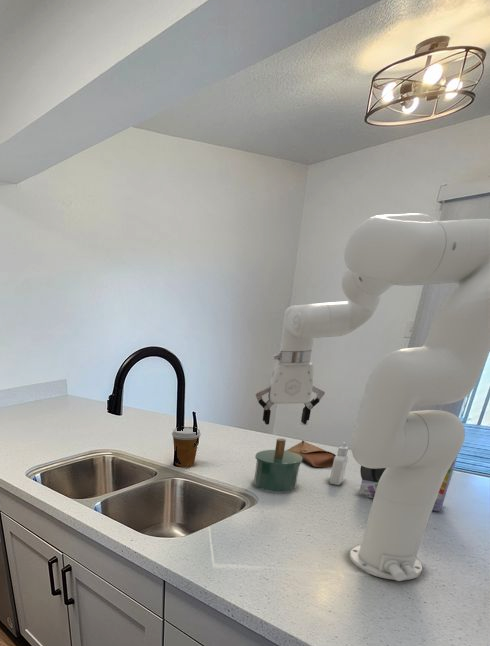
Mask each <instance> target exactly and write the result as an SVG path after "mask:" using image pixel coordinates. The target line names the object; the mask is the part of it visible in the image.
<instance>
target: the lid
mask: <svg viewBox="0 0 490 646" xmlns="http://www.w3.org/2000/svg"><path fill="white" fill-rule="evenodd" d="M286 443H287V440H286V439H285V438H277V439H276V443H275V449H267V450H266V449H265V450H261V451H258V452H256V453H255V455H254V459H256V461H257V460H258V461H260V462H262V463H266V464H270V465H278V466H290V465H296V464H299V463H300V464H301V463H302V462H303V461H302V460H303V458H302V456H301V455H299V454H297V453H294V452H290V451H286V450H285V449H286Z"/></svg>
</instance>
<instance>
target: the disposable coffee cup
mask: <svg viewBox="0 0 490 646" xmlns="http://www.w3.org/2000/svg"><path fill="white" fill-rule="evenodd" d="M183 427H184V429H183V431H182V430H181V431H177V428H178V427H175V428H174V429H173V430H172V432H171V436H172V440H173V449H174V450H173V451H174V454H175V451H176V446H177V458H178V459H179V461H180V463H181V464H178V463H176V462H175V461H174V462H175V466H177V467H180V468H190V467H193V466H194V465H195V460H196V456H197V451H198V446H199V441H200V437H201V435H202V433H201V429H200V428H198V427H196V428H197V435H196V432H193V427H194V426H183ZM197 438H198V443H197V444H196V441H197ZM194 443H195V444H196V446H195V447H194V448H193V446H194Z"/></svg>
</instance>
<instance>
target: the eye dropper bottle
mask: <svg viewBox="0 0 490 646" xmlns="http://www.w3.org/2000/svg"><path fill="white" fill-rule="evenodd" d="M348 451H349V447H348V446H347V442H342V445H340V446H339V447H338V448H337V454H335V455H336V456H335V458H334V462H333V466H331V471H330V476H329V479H328V480H329V481H328V482H329V484H330V485H336V486H340V485H341V484H343V482H344V477H345V474H346V469H347V465H348V460H349V457H348Z"/></svg>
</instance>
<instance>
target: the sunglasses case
mask: <svg viewBox="0 0 490 646" xmlns="http://www.w3.org/2000/svg"><path fill="white" fill-rule="evenodd" d="M285 451H290V452H294V453H297V454H299V455H301V456H302V458H303V460H302V462H303V463H304V464H307V465H309V466H311V467H314V468H329V467H331V468H332V466H333V462H334V458H335V456H336V455H337V454H336V453H333V452H331V451H327V450H326V449H323V448H321V447H319V446H316V445H314V444H311V443H309V442H307V441H305V440H303V439H302V440H301V441H300V442H298V443H296V444H295V445H294V446H291V447H290V448H288V449H286V450H285Z"/></svg>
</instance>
